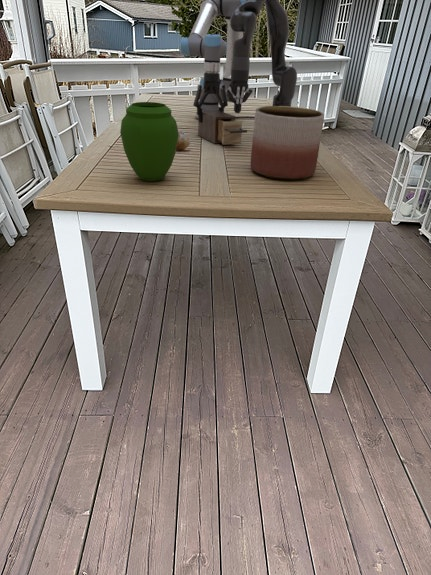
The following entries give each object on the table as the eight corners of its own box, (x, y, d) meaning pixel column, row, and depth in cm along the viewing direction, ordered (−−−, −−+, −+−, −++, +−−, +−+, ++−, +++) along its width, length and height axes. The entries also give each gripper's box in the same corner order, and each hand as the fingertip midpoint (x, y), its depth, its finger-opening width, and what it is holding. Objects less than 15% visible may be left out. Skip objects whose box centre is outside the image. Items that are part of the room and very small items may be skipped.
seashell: (189, 148, 186) (189, 129, 181) (190, 151, 181) (190, 132, 177) (168, 148, 184) (168, 129, 180) (169, 151, 180) (168, 132, 175)
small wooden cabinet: (234, 142, 199) (235, 116, 193) (214, 143, 195) (215, 116, 189) (216, 134, 214) (217, 109, 208) (198, 135, 210) (198, 110, 204)
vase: (131, 189, 135) (125, 110, 122) (118, 172, 150) (112, 100, 137) (186, 184, 142) (187, 109, 129) (169, 168, 157) (167, 99, 144)
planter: (324, 181, 152) (336, 118, 140) (258, 182, 148) (265, 117, 136) (301, 162, 173) (310, 106, 162) (243, 162, 169) (248, 104, 157)
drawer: (246, 146, 187) (248, 123, 182) (229, 147, 184) (230, 124, 179) (223, 135, 206) (224, 115, 201) (206, 136, 203) (207, 115, 198)
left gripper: (229, 71, 202) (227, 119, 213) (186, 71, 193) (186, 121, 205) (236, 73, 196) (233, 122, 208) (192, 73, 187) (191, 124, 199)
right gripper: (249, 67, 176) (246, 111, 186) (222, 67, 171) (220, 111, 181) (258, 69, 171) (254, 114, 180) (230, 69, 166) (227, 114, 175)
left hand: (210, 121), depth 206 cm, fingers closed on small wooden cabinet, 10 cm apart
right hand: (237, 112), depth 180 cm, fingers closed
